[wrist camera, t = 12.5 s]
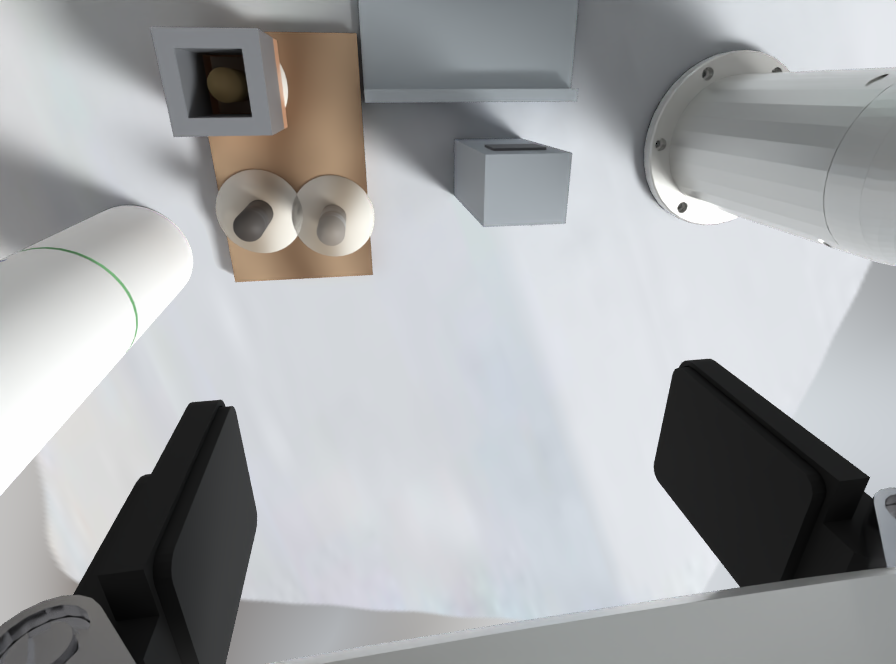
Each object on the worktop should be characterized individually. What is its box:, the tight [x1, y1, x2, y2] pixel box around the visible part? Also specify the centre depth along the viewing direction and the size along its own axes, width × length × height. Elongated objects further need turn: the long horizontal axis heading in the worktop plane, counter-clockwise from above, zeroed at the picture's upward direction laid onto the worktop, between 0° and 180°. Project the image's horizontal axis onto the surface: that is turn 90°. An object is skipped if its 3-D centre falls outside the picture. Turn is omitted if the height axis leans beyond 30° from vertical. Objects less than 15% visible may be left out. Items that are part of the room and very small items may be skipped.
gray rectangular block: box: [454, 138, 572, 227], centre depth 34 cm, size 5×4×10 cm
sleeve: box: [150, 27, 288, 137], centre depth 29 cm, size 5×5×7 cm
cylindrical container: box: [0, 205, 193, 495], centre depth 26 cm, size 7×7×25 cm
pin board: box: [207, 32, 374, 282], centre depth 34 cm, size 11×16×6 cm
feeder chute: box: [358, 0, 579, 103], centre depth 34 cm, size 14×8×2 cm, turn 89°
